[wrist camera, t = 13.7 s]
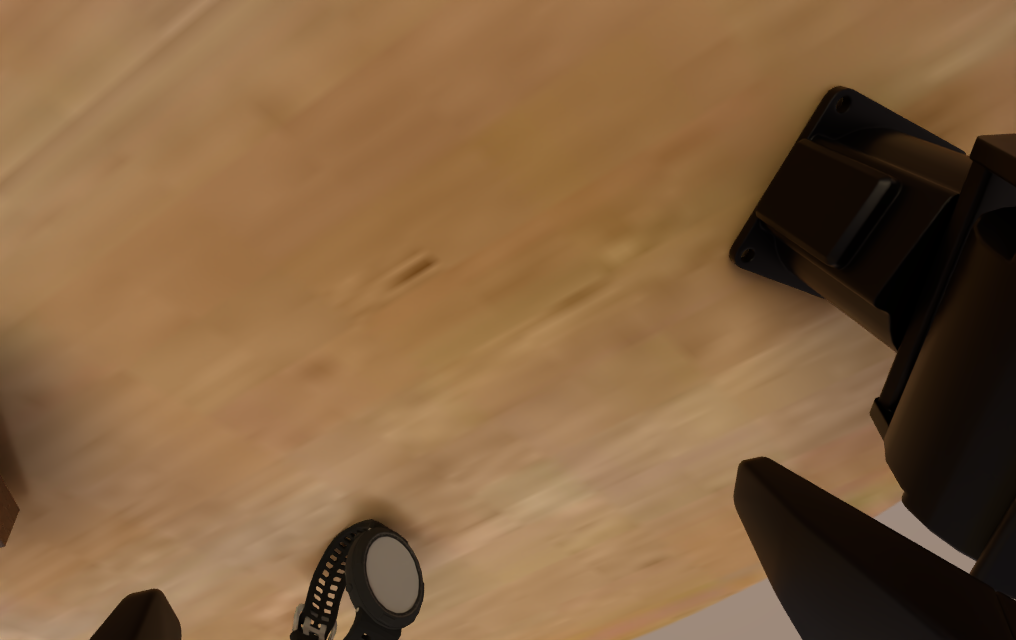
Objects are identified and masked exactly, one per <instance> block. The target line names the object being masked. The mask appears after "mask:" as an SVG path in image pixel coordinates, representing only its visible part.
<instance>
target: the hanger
mask: <svg viewBox="0 0 1016 640" xmlns="http://www.w3.org/2000/svg"><path fill="white" fill-rule="evenodd" d="M18 513H19V507H18V506H17V504H16V502H15V500H14V499H13V497H12V495H11V493H10V491H9V490H8V488H7V486H6V484H5V483H4V481H3V479H2V477H1V476H0V548H1V547H5V545H6V543H7V540H8V538H9V535H10V533H11V530H12V528H13V525H14V523H15V520H16V518H17V515H18Z"/></svg>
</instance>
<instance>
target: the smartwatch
mask: <svg viewBox="0 0 1016 640" xmlns="http://www.w3.org/2000/svg"><path fill="white" fill-rule="evenodd" d="M352 533H354V534H356V535H354V534H352ZM345 537H348V538H349V539H351V540H350V541H349V540H348V539H347V538H345ZM340 542H343V543H344V544H345V545H346V546H344V547H343V546H342V545H341V544H340ZM336 548H337V549H338V550H340V551H341V553H340V554H338V553H337V552H336V551H335V549H336ZM331 555H334V556H335V557H337V560H336V561H334V560H333V559H331V558H330V556H331ZM347 555H348V556H347ZM345 556H347V558H346V557H345ZM327 562H329V563H331V564H332V565H333V567H332V568H330V569H329V568H328V567H327V566H326V563H327ZM342 562H345V563H346V565H341V563H342ZM339 569H341V570H344V571H345V573H344V574H340V573H337V571H338V570H339ZM324 570H327V571H328V572H329V576H328V577H325V576H324V575H323V574H322V573H323V571H324ZM335 577H339V578H341V581H340V582H336V581H333V578H335ZM319 578H322V579H323V580H324V581H325V586H323V585H322V584H321V583H319ZM331 585H335V586H337V587H338V589H337V591H334V590H330V586H331ZM316 586H318V587H320V588H321V589H322V590H323V593H322V594H321V593H320V592H319V591H317V590H316ZM345 587H346V591H347V592H348V593H349V596H350V599H351V601H352V603H353V605H354V608H355V609H356V617H355V620H354V623H353V625H352V627H351V629H350V631H349V633H348V634H347V636H346V637H345V638H344V639H343V640H398V639H399V637H400V636H401V630H402V628H404V627H406V626H408V625H410V624H411V623H412V622H414V620H415V618H416V616H417V615H418V613H419V611H420V608H421V605H422V602H423V597H424V583H423V578H422V571H421V568H420V565H419V561H418V559H417V557H416V555H415V553H414V552H413V550H412V549H411V547H410V546H409V544H408V542H407V541H406V540H405V539H404V538H403V537H402V536H401V535H399V534H398V533H397V532H395V531H393V530H391V529H389V528H388V527H386V526H384V525H383V524H381V523H379V522H377V521H374V520H372V519H370V520H365V521H362V522H359V523H357V524H354V525H352V526H351V527H349V528H347V529H345V530H344V531H342V532H341V533H340V534H339V535H337V536H336V537H335V538H334V539H333V541H332V542H331V543H330V545H329V546H328V548H327V549H326V551H325V552H324V554H323V556H322V558H321V560H320V562H319V564H318V566H317V568H316V570H315V572H314V575H313V578H312V580H311V583H310V586H309V590H308V594H307V598H306V602H305V604H299V605H298V606H297V607H296V611H295V614H294V622H293V629H292V631H293V632H292V633H291V634H290V640H326V639H327V637H328V634H329V633H330V631H331V634H330V636H329V638H328V640H333V638H334V636H335V634H336V630H337V621H336V619H337V615H338V610H339V605H340V601H341V598H342V594H343V591H344V589H345ZM328 593H332V594H335V598H334V599H332V598H329V597H328ZM314 594H316V595H317V596H319V597H320V598H321V601H318V600H317V599H315V597H314ZM327 601H331V602H332V603H333V605H332V607H331V606H328V605H327V604H326V602H327ZM313 602H314V603H315V604H316V605H318V606H319V609H317V608H316V607H314V606H313ZM324 609H328V610H331V614H328V613H324ZM301 611H302V613H301V614H300V612H301ZM299 615H300V616H299ZM305 618H306V619H305ZM311 619H312V620H313V621H314V624H313V625H312V624H310V623H311ZM301 624H303V627H301ZM318 624H321V627H320V628H318ZM326 625H327V626H326ZM364 633H366V634H367V635H364ZM314 634H316V635H314Z"/></svg>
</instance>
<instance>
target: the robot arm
mask: <svg viewBox="0 0 1016 640" xmlns="http://www.w3.org/2000/svg"><path fill="white" fill-rule="evenodd" d="M841 98H843V101H842V104H841V106H840V107H839V108H838V109H836V105H837V102H838V101H839V100H840V99H841ZM747 249H749V251H748V253H747V254H746V255H745V256H743V257H741V256H742V253H743V252H744V251H745V250H747ZM729 257H730V259H731V261H732V262H734V263H735V264H736V265H737V266H739V267H740V268H742V269H745V270H748V271H750V272H753V273H756V274H759V275H761V276H764V277H767V278H769V279H772V280H775V281H777V282H780V283H783V284H786V285H788V286H791V287H794V288H796V289H799V290H802V291H804V292H807V293H810V294H813V295H815V296H818V297H821V298H823V299H826V300H828V301H829V302H830V303H832V304H833V305H834V306H836V307H837V308H838V309H840V310H841V311H842V312H844V313H845V314H846V315H848V316H849V317H850V318H851V319H853V320H854V321H855V322H857V323H858V324H859V325H861V326H862V327H863V328H865V329H866V330H867V331H869V332H870V333H871V334H873V335H874V336H875V337H876V338H878V339H879V340H880V341H882V342H883V343H884V344H886V345H887V346H888V347H890V348H891V349H892V350H894V351H895V352H896V353H897V354H896V356H895V359H894V362H893V364H892V367H891V369H890V372H889V374H888V377H887V379H886V382H885V384H884V387H883V389H882V392H881V394H880V397H877V398H875V400H874V402H873V405H872V407H871V410H870V416H871V418H872V420H873V422H874V424H875V426H876V427H877V429H878V431H879V433H880V435H881V437H882V439H883V441H884V445H885V457H886V462H887V464H888V465H889V467H890V469H891V471H892V472H893V474H894V476H895V478H896V479H897V481H898V483H899V485H900V487H901V488H902V489H903V490H904V493H903V495H902V502H903V504H904V506H905V507H906V508H907V509H908V510H909V511H910V512H911V513H912V514H913V515H914V516H915V517H916V518H917V519H918V520H919V521H921V522H922V523H923V524H924V525H925V526H926V527H927V528H928V529H929V530H930V531H931V532H932V533H934V534H935V535H937V536H938V537H939V538H941V539H942V540H943V541H945V542H946V543H948V544H949V545H950V546H952V547H953V548H955V549H956V550H957V551H959V552H961V553H963V554H964V555H966V556H968V557H970V558H972V559H973V560H975V561H977V562H976V563H975V565H974V567H973V568H972V570H971V572H970V574H968V573H967V572H965V571H963V570H962V569H960V568H958V567H956V566H955V565H953V564H951V563H949V562H948V561H946V560H944V559H942V558H941V557H939V556H937V555H936V554H934V553H932V552H930V551H929V550H927V549H925V548H923V547H922V546H920V545H918V544H917V543H915V542H913V541H911V540H910V539H908V538H906V537H904V536H902V535H901V534H899V533H898V532H896V531H894V530H892V529H891V528H889V527H887V526H885V525H884V524H882V523H880V522H878V521H877V520H875V519H873V518H872V517H870V516H868V515H866V514H865V513H863V512H861V511H859V510H858V509H856V508H854V507H853V506H851V505H849V504H847V503H846V502H844V501H842V500H840V499H839V498H837V497H835V496H834V495H832V494H830V493H828V492H827V491H825V490H823V489H821V488H820V487H818V486H816V485H814V484H813V483H811V482H809V481H808V480H806V479H804V478H802V477H801V476H799V475H797V474H795V473H794V472H792V471H790V470H789V469H787V468H785V467H783V466H782V465H780V464H778V463H776V462H775V461H773V460H771V459H769V458H767V457H756V458H752V459H747V460H743V461H741V463H740V464H739V466H738V471H737V477H736V483H735V489H734V504H735V507H736V510H737V512H738V515H739V517H740V519H741V521H742V523H743V525H744V528H745V530H746V532H747V534H748V536H749V538H750V540H751V543H752V545H753V547H754V549H755V551H756V553H757V555H758V558H759V560H760V562H761V564H762V566H763V568H764V571H765V573H766V575H767V577H768V579H769V581H770V583H771V585H772V587H773V589H774V591H775V593H776V595H777V597H778V599H779V601H780V602H781V604H782V606H783V608H784V609H785V611H786V613H787V615H788V616H789V617H790V620H791V621H792V623H793V625H794V626H795V628H796V629H797V631H798V633H799V635H800V636H801V638H802V640H1016V600H1014V599H1016V134H1001V135H981V136H978V137H977V139H976V141H975V144H974V146H973V149H972V152H971V154H970V156H967V155H966V153H965V152H964V151H963V150H961V149H959V148H957V147H955V146H954V145H952V144H950V143H948V142H947V141H945V140H943V139H941V138H939V137H938V136H936V135H934V134H932V133H930V132H929V131H927V130H925V129H923V128H921V127H920V126H918V125H916V124H914V123H912V122H911V121H909V120H907V119H905V118H903V117H902V116H900V115H898V114H896V113H894V112H893V111H891V110H889V109H887V108H886V107H884V106H882V105H880V104H878V103H877V102H875V101H873V100H871V99H869V98H868V97H866V96H864V95H862V94H860V93H859V92H857V91H855V90H853V89H850V88H847V87H843V86H837V87H834V88H832V89H831V90H829V91H828V92H827V94H826V95H825V96H824V98H823V99H822V101H821V102H820V104H819V106H818V107H817V109H816V111H815V112H814V114H813V115H812V117H811V119H810V120H809V122H808V124H807V125H806V127H805V128H804V130H803V132H802V133H801V135H800V137H799V138H798V140H797V141H796V143H795V145H794V146H793V148H792V150H791V151H790V153H789V154H788V156H787V158H786V159H785V161H784V162H783V164H782V166H781V167H780V169H779V171H778V172H777V174H776V175H775V177H774V179H773V180H772V182H771V184H770V185H769V187H768V188H767V190H766V192H765V193H764V195H763V197H762V198H761V200H760V201H759V203H758V205H757V206H756V208H755V209H754V211H753V213H752V214H751V216H750V218H749V219H748V221H747V222H746V224H745V226H744V227H743V229H742V231H741V232H740V234H739V235H738V237H737V239H736V240H735V242H734V244H733V245H732V247H731V249H730V252H729ZM1010 597H1011V598H1010ZM1012 598H1013V599H1012ZM181 636H182V635H181V626H180V622H179V620H178V618H177V616H176V614H175V613H174V611H173V609H172V607H171V606H170V604H169V602H168V601H167V599H166V597H165V595H164V594H163V592H162V591H161V590H159V589H150V590H145V591H140V592H136V593H132V594H129V595H128V596H126V597H125V598H124V599H123V600H122V601H121V602H120V603H119V605H118V606H117V607H116V608H115V609H114V611H113V612H112V613H111V614H110V615H109V617H108V618H107V619H106V620H105V621H104V623H103V624H102V625H101V626H100V627H99V629H98V630H97V631H96V632H95V634H94V635H93V636H92V637H91V638H90V640H181Z"/></svg>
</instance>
